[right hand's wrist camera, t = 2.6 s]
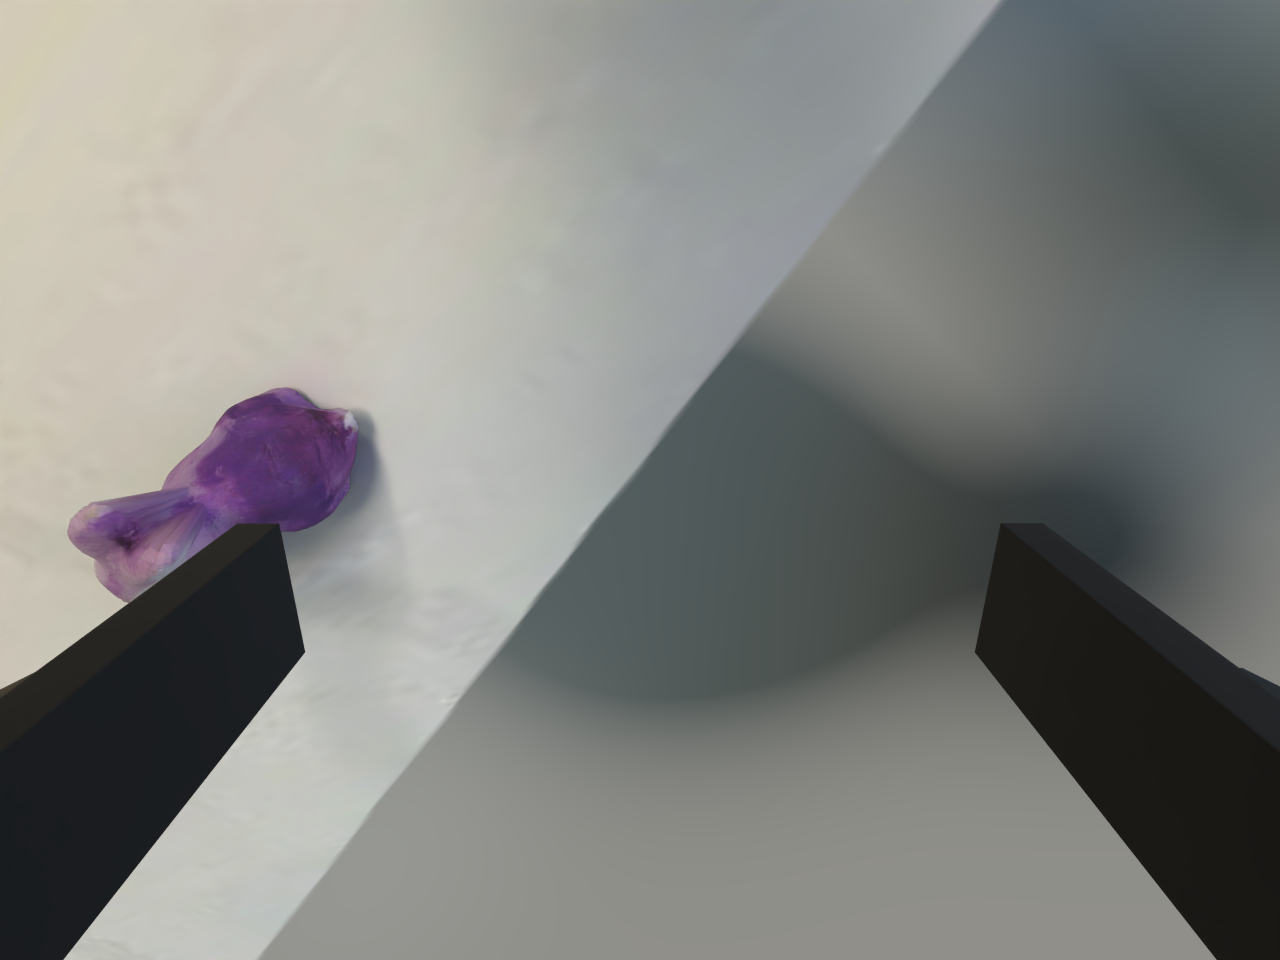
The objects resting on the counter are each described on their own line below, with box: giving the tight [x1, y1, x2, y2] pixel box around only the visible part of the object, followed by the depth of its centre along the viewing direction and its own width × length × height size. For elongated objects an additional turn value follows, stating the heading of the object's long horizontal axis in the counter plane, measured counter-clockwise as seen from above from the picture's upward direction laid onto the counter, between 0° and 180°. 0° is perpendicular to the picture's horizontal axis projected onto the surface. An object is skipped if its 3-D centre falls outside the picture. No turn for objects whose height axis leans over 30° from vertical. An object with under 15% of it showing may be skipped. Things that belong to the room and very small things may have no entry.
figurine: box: [67, 388, 358, 603], centre depth 36 cm, size 9×10×15 cm
